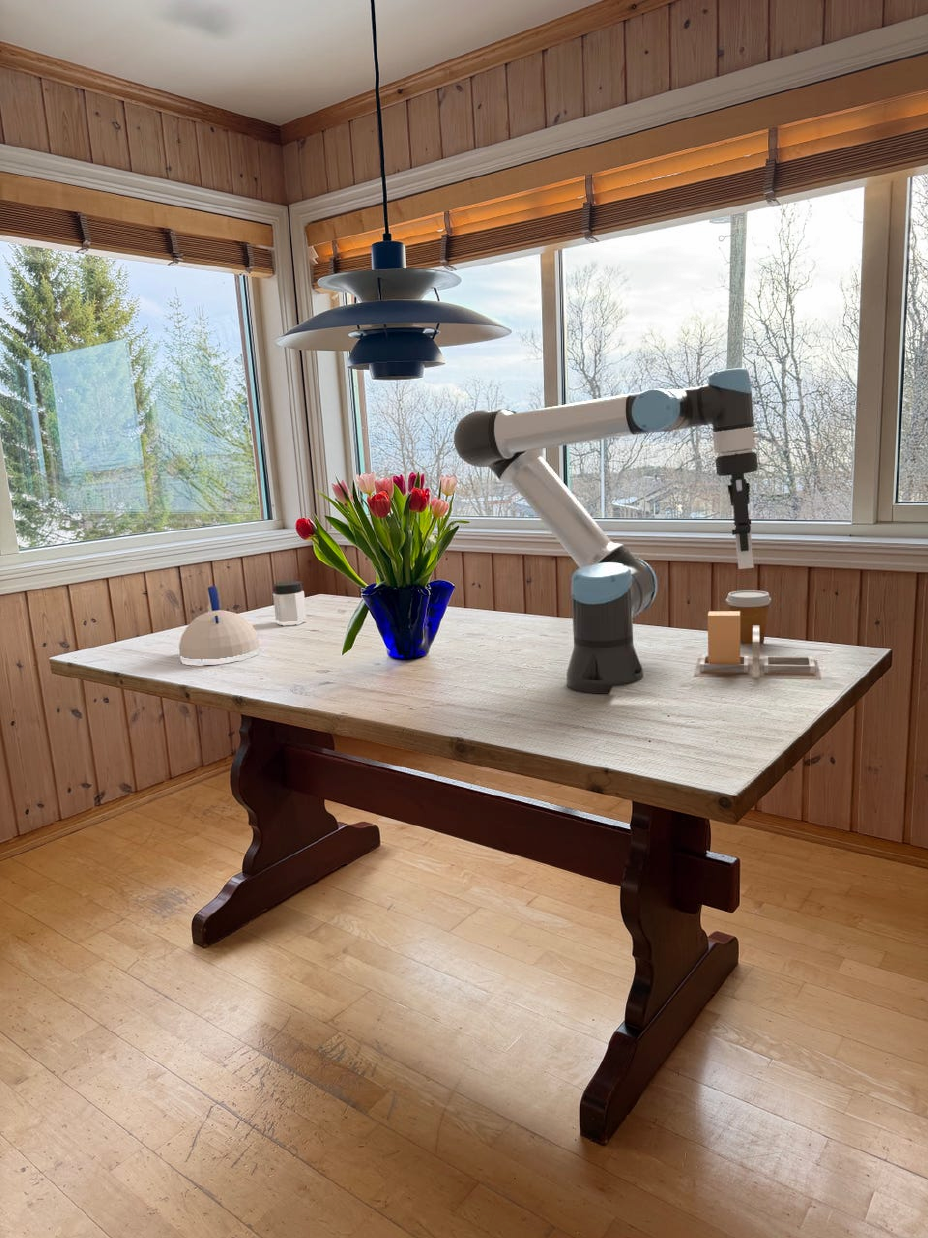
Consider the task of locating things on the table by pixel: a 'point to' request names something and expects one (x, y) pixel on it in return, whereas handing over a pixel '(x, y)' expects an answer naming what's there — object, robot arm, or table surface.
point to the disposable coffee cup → (750, 612)
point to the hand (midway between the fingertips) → (745, 563)
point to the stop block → (724, 637)
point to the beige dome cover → (217, 633)
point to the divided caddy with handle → (761, 666)
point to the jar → (289, 601)
